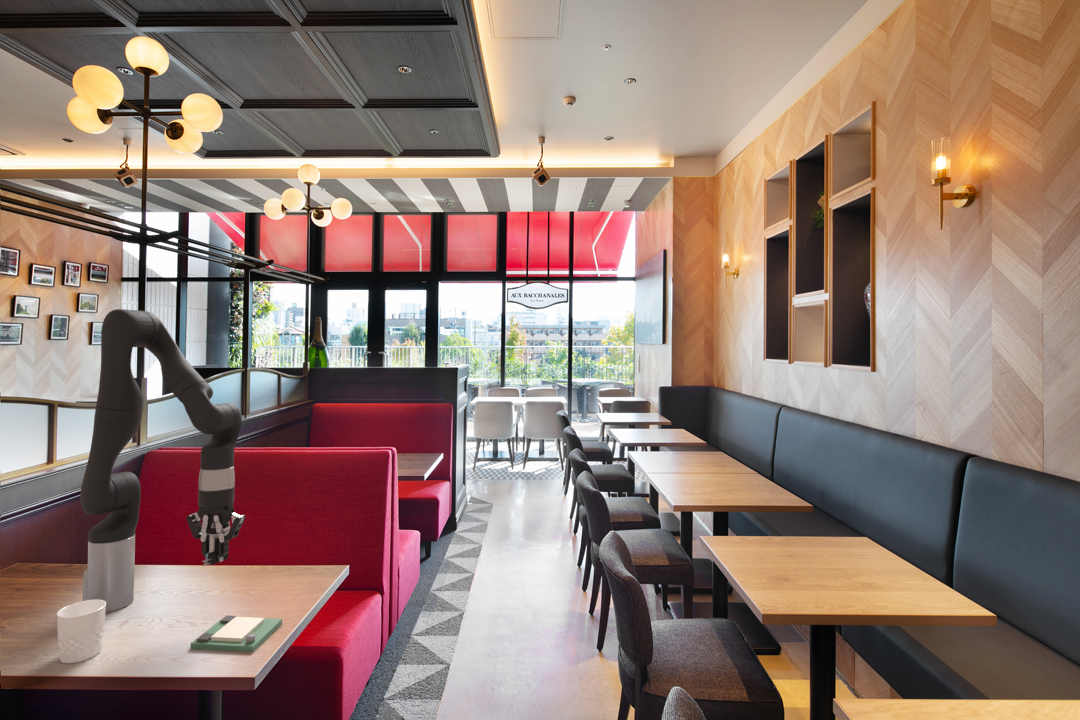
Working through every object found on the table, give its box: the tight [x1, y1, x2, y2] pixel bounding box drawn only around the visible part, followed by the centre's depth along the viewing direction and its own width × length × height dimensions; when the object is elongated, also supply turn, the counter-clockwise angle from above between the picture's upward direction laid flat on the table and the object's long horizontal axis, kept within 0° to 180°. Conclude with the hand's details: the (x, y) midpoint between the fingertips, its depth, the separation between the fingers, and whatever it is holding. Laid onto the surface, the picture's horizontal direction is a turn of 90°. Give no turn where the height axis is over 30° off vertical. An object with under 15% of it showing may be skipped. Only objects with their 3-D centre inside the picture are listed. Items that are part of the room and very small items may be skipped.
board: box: [190, 615, 283, 653], centre depth 120 cm, size 14×12×2 cm
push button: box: [201, 523, 231, 567], centre depth 128 cm, size 7×5×10 cm
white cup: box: [56, 600, 106, 664], centre depth 111 cm, size 8×8×10 cm
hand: (215, 555), depth 128 cm, fingers closed on push button, 3 cm apart
